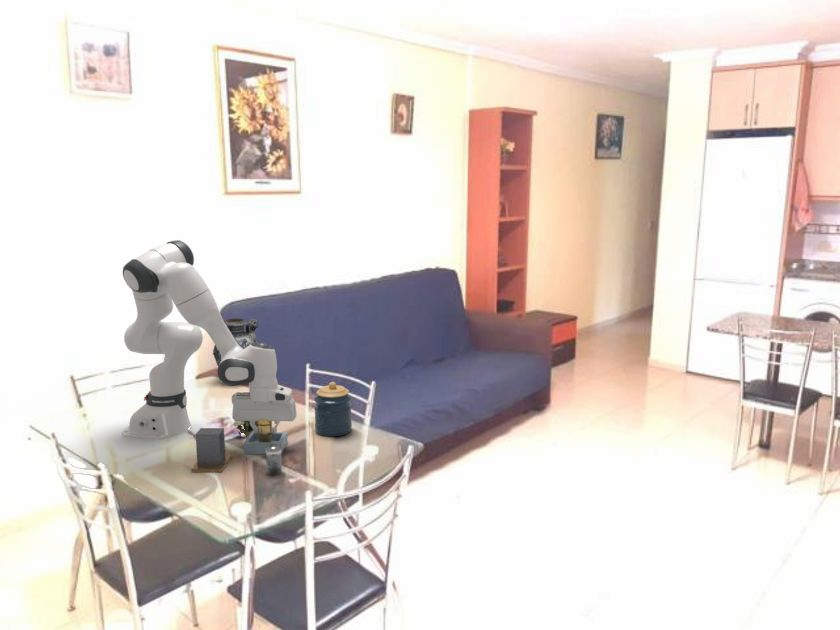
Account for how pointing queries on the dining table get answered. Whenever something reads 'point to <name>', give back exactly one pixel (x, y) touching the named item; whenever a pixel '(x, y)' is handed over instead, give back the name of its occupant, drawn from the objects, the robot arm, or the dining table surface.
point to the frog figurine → (245, 426)
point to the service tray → (263, 443)
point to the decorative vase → (239, 334)
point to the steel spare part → (273, 459)
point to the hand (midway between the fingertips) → (265, 433)
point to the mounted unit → (211, 450)
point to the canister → (333, 410)
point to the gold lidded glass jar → (264, 431)
